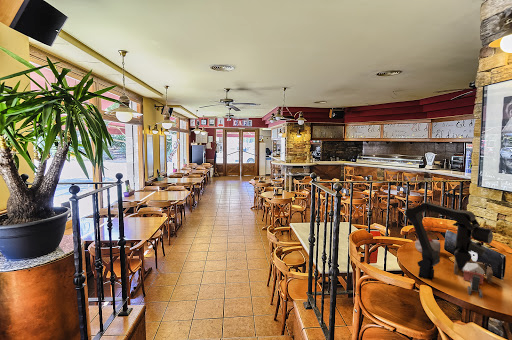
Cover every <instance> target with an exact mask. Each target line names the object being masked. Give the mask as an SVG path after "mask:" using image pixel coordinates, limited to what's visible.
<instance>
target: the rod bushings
mask: <svg viewBox="0 0 512 340" xmlns="http://www.w3.org/2000/svg"><path fill="white" fill-rule="evenodd" d="M477 293H478V297H479V298H480V299H483V290H482V289H481V288H479V289H478V292H477ZM467 295H468V296H471V295H472V290H471V285H470V286H469V285H468V286H467Z"/></svg>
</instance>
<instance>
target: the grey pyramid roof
mask: <svg viewBox="0 0 512 340" xmlns="http://www.w3.org/2000/svg"><path fill="white" fill-rule="evenodd" d="M464 270H467V271H471V272H475V273H479V274H483V275H484V273H485V272H484V270H483V269H482V268H481V267H480V266H479V265H478V264H477V263H467V264H466V265H465V266H464V268H463V269H462V270H461V271H462V272H463V273H464Z"/></svg>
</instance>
